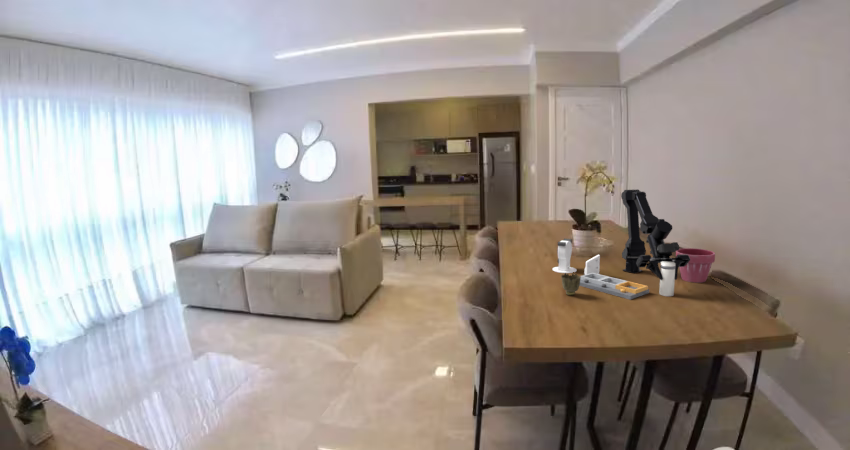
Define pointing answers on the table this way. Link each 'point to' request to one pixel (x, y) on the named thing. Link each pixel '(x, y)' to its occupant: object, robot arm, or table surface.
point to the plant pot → (696, 264)
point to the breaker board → (613, 286)
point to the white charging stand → (564, 257)
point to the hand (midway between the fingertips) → (668, 279)
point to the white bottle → (667, 278)
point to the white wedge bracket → (592, 265)
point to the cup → (570, 283)
